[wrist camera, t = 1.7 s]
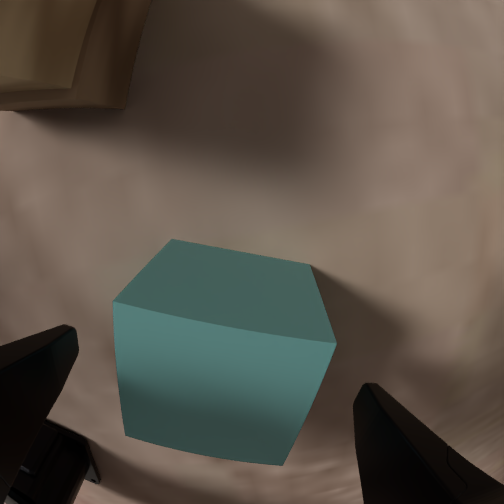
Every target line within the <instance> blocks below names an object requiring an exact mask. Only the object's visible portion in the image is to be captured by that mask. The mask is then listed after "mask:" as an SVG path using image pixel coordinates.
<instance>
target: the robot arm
mask: <svg viewBox="0 0 504 504" xmlns="http://www.w3.org/2000/svg"><path fill="white" fill-rule="evenodd" d="M78 353H79V346H78V338H77V331H76V329H75V328H74V327H72V326H69V325H65V324H63V325H60V326H57V327H54V328H52V329H49V330H46V331H43V332H40V333H37V334H34V335H31V336H28V337H26V338H23V339H20V340H17V341H14V342H11V343H8V344H5V345H2V346H0V504H4V502H5V503H6V504H73V503H74V501H75V499H76V496H77V494H78V492H79V490H80V487H81V485H82V483H83V481H84V479H85V480H88V481H90V482H93V483H95V484H99V483H100V481H101V478H100V476H99V473H98V471H97V468H96V466H95V463H94V460H93V457H92V455H91V452H90V449H89V446H88V443H87V441H86V440H85V439H83V438H82V437H80V436H77V435H75V434H73V433H70V432H68V431H66V430H63V429H61V428H59V427H57V426H54V425H52V424H50V423H48V422H46V421H45V419H46V417H47V416H48V414H49V412H50V410H51V408H52V407H53V405H54V403H55V402H56V400H57V398H58V396H59V395H60V393H61V391H62V389H63V387H64V384H65V382H66V380H67V378H68V375H69V373H70V371H71V369H72V367H73V365H74V362H75V360H76V358H77V356H78ZM353 415H354V432H355V448H356V455H357V461H358V467H359V474H360V480H361V487H362V494H363V501H364V504H504V485H503V484H501V483H500V482H498V481H497V480H495V479H494V478H492V477H491V476H489V475H488V474H486V473H485V472H483V471H482V470H480V469H479V468H477V467H476V466H475V465H473V464H472V463H470V462H469V461H468V460H466V459H465V458H464V457H462V456H461V455H460V454H459V453H457V452H456V451H455V450H454V449H453V448H452V447H450V446H448V445H447V443H446V442H444V441H443V440H442V439H441V438H440V437H438V436H437V435H436V434H435V433H434V432H433V431H431V430H430V429H429V428H428V427H427V426H426V425H424V424H423V423H422V422H421V421H420V420H418V419H417V418H416V417H415V416H414V415H413V414H411V413H410V412H409V411H408V410H407V409H406V408H405V407H403V406H402V405H401V404H400V403H399V402H398V401H396V400H395V399H394V398H393V397H392V396H391V395H389V394H388V393H387V392H386V391H385V390H384V389H383V388H381V387H380V386H379V385H378V384H376V383H364V384H363V385H362V387H361V389H360V391H359V393H358V395H357V397H356V399H355V401H354V404H353Z"/></svg>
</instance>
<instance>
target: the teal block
mask: <svg viewBox="0 0 504 504" xmlns="http://www.w3.org/2000/svg"><path fill="white" fill-rule="evenodd" d="M113 323H114V341H115V355H116V367H117V378H118V387H119V395H120V403H121V411H122V418H123V424H124V430H125V436H128V437H132V438H135V439H138V440H142V441H145V442H149V443H153V444H156V445H160V446H164V447H168V448H172V449H176V450H181V451H185V452H190V453H195V454H200V455H205V456H210V457H216V458H222V459H228V460H235V461H242V462H250V463H258V464H268V465H279V466H283V464H284V462H285V460H286V458H287V456H288V454H289V452H290V450H291V448H292V446H293V444H294V442H295V440H296V438H297V436H298V434H299V432H300V430H301V428H302V425H303V423H304V421H305V419H306V417H307V415H308V412H309V410H310V408H311V406H312V403H313V401H314V399H315V396H316V394H317V392H318V389H319V387H320V385H321V382H322V380H323V378H324V375H325V373H326V370H327V368H328V365H329V363H330V360H331V358H332V355H333V352H334V350H335V347H336V345H337V343H336V339H335V336H334V333H333V330H332V327H331V324H330V321H329V318H328V315H327V313H326V310H325V307H324V304H323V301H322V298H321V295H320V292H319V289H318V287H317V284H316V281H315V278H314V275H313V272H312V270H311V267H310V264H304V263H299V262H293V261H288V260H283V259H277V258H272V257H266V256H261V255H255V254H250V253H245V252H239V251H234V250H228V249H223V248H218V247H212V246H207V245H201V244H196V243H191V242H185V241H180V240H175V239H171V240H170V241H169V242H168V243H167V244H166V245H165V246H164V247H163V249H162V250H161V251H160V252H159V253H158V254H157V255H156V256H155V257H154V258H153V259H152V260H151V261H150V262H149V263H148V264H147V265H146V266H145V267H144V268H143V269H142V270H141V271H140V272H139V273H138V274H137V276H136V277H135V278H134V279H133V280H132V281H131V282H130V283H129V284H128V285H127V286H126V287H125V288H124V289H123V290H122V292H121V293H120V294H119V295H118V296H117V297H116V298H115V299H114V300H113Z"/></svg>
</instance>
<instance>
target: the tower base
mask: <svg viewBox="0 0 504 504" xmlns="http://www.w3.org/2000/svg"><path fill="white" fill-rule="evenodd" d="M151 1H152V0H97V2H96V4H95V7H94V10H93V13H92V15H91V18H90V21H89V24H88V27H87V30H86V34H85V37H84V40H83V44H82V47H81V51H80V54H79V58H78V62H77V65H76V69H75V73H74V78H73V82H72V87H71V89H45V90H29V91H17V92H7V93H0V111H20V110H35V109H61V108H105V109H125V107H126V101H127V96H128V91H129V86H130V81H131V76H132V72H133V67H134V63H135V59H136V54H137V50H138V46H139V42H140V39H141V35H142V31H143V28H144V24H145V21H146V17H147V14H148V11H149V7H150V4H151Z"/></svg>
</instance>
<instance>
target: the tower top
mask: <svg viewBox="0 0 504 504" xmlns="http://www.w3.org/2000/svg"><path fill="white" fill-rule="evenodd" d="M96 2H97V0H0V93H7V92H17V91H29V90H45V89H71V87H72V82H73V78H74V73H75V69H76V65H77V62H78V58H79V54H80V51H81V47H82V44H83V40H84V37H85V34H86V30H87V27H88V24H89V21H90V18H91V15H92V13H93V10H94V7H95V4H96Z"/></svg>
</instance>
